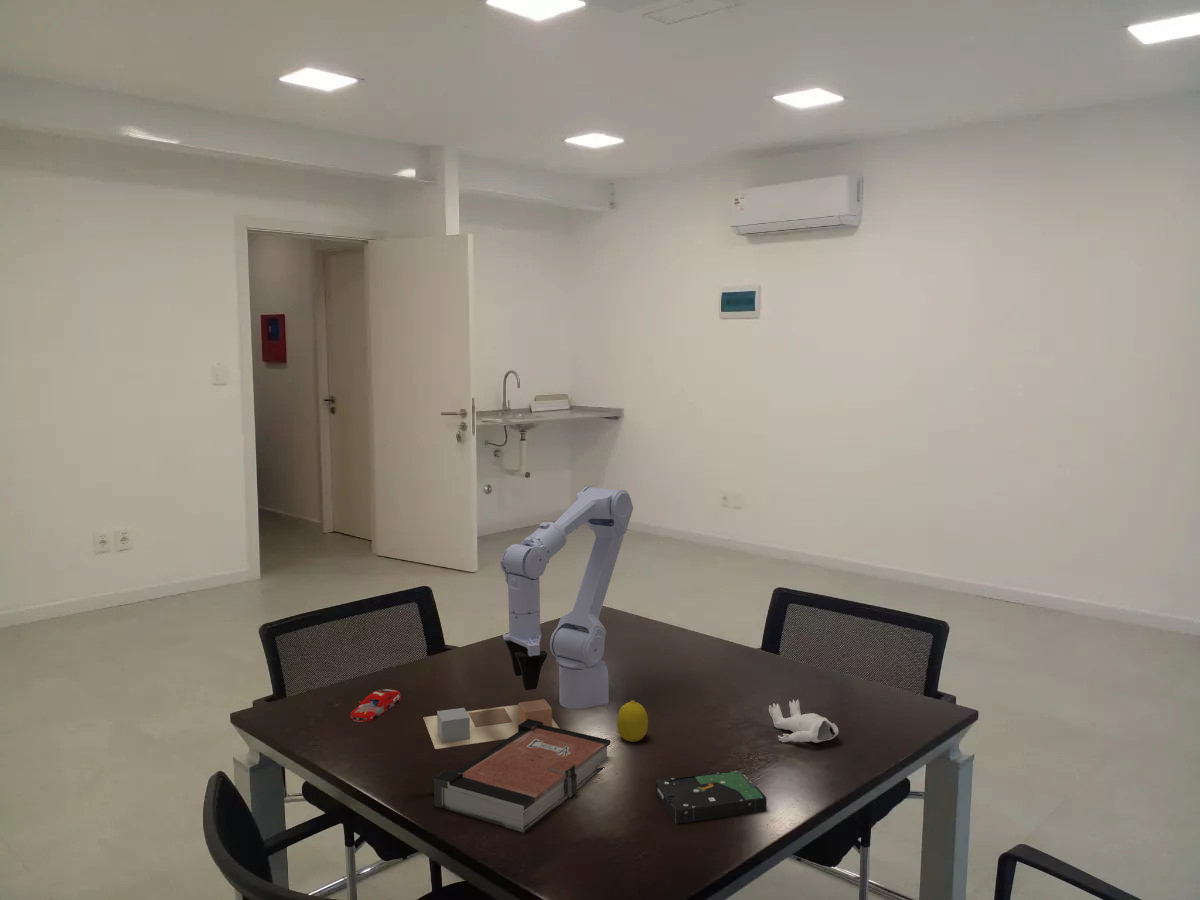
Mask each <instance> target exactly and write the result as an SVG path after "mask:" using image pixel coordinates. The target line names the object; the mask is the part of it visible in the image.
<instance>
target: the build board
mask: <svg viewBox="0 0 1200 900" xmlns="http://www.w3.org/2000/svg"><path fill="white" fill-rule="evenodd" d="M466 712H467V714H468V716H469V718H470V739H468V740H461V741H454V742H447V743H442V742H441V739H440V737H439V735H438V728H437V715H430V716H423V717H422V718H423V721H424V723H425V726H426V729H427V731H428V734H429V736H430V739H431V742H432V744H433V747H434V749H435V750H441V749H445V748H454V747H461V746H467V745H474V744H479V743H481V744H482V743H487V742H488V743H489V742H495V741H501V740H503V741H504V740H506V739H508V738H509V737H511V736H513V735H514V734H516V733H517V732H518V725H519V704H515V705H507V706H498V707H491V708H490V707H489V708H484V709H475V710H466ZM552 727H555V728H559V729H561V728H560V727H559V726H558V724H557V723H556V721H555V720H554V718H552Z"/></svg>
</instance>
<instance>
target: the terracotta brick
mask: <svg viewBox="0 0 1200 900" xmlns="http://www.w3.org/2000/svg"><path fill="white" fill-rule="evenodd" d="M518 705H519V724H521V723H523V722H524V721H526V720H528V719H531V720H535V721H540V722H543V725H546V726H550V727H552V719H553V708H552V707H551V705H550V704H549V703H548V702H547V701H546V699H544V698H543V699H536V700H529V701H522V702H520V701H519V702H518Z"/></svg>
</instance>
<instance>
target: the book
mask: <svg viewBox="0 0 1200 900" xmlns="http://www.w3.org/2000/svg"><path fill="white" fill-rule="evenodd" d="M559 728H560V727H559ZM559 728H555V727H550V726H546V725H543V722H540V721H535V720H531V719H528V720H526V721H524V722H523V723H521V724H519V725H518V732H517V733H516V734H514V735H513V736H511V737H509V738H508V739H504V740H503V741H501V742H500V743H498V744H497V745H495V746H494V747H492V748H490V749H489V750H488V751H485V752H484V753H482V754H481V755H479V756H478V757H476V758H475V759H473V760H471V761H470V762H468V763H466V764H465V765H464V766H461V767H460V768H459V769H457V770H456V771H454V770H451V769H445V770H444V771H442V772H441V773H439V774H437V775H435V776H434V777H433V798H434V800H433V803H434V807H436V808H440V809H444V810H448V811H451V812H454V813H458V814H460V815H463V816H467V817H471V818H473V819H478V820H480V821H484V822H487V823H491V824H493V825H498V826H501V827H503V828H507V829H511V830H514V831H518V832H521V833H524V834H525V833H526V832H527V831H528V830H529V829H531V828H532V827H533V826H534V825H536V824H537V823H538V822H540V821H541V820H542V819H543V818H544V817H545V816H547V815H548V814H550V812H552V811H553V810H554V809H556V807H558V806H559V805H560V804H562V803H563V802H564V801H565V800H567V799H568V798H571V799H572V797H574V796H575V795H576V794H577V793H578V790H579V789H580V788H582V787H583V786H584V785H585V784H586V783H588V782H589V781H590V780H591V779H593V778H594V777H595V776H596V775H598V774H599V773H600V772H601V771H602V770H604V769H605V768H606V766H602V767H598V766H599V765H601V764H602V763H603V762H604V761H605V760H607V758H608V746H610V745H611V739H607V738H603V737H599V736H594V735H590V734H585V733H580V732H577V731H572V730H568V729H562V728H560V729H559ZM597 767H598V768H597ZM603 768H604V769H603ZM597 773H598V774H597ZM593 776H594V777H593ZM592 777H593V778H592ZM588 780H589V781H588ZM587 781H588V782H587ZM585 782H586V783H585ZM584 783H585V784H584ZM583 784H584V785H583ZM582 785H583V786H582ZM578 788H579V789H578ZM577 789H578V790H577Z"/></svg>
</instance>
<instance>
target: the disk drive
mask: <svg viewBox="0 0 1200 900" xmlns="http://www.w3.org/2000/svg"><path fill="white" fill-rule="evenodd" d="M744 773H745V772H744V771H743V770H739V771H738V770H732V771H731V770H725V771H717V772H710V773H701V774H695V775H688V776H687V775H685V776H678V777H671V778H670V777H669V778H662V779H656V780H655V782H654V783H655V787H654V788H655V795H656V796H657V798H658V799H659V800H660V802H661V804H662V806H663V807H664V809H665V810H666V812H667V814H668V815H669V816H670V817H671V819H672V821H673V822H674V823H675V824H676V825H678V824H683V823H684V824H686V823H692V822H699V821H705V820H706V821H707V820H713V819H714V820H715V819H721V818H728V817H733V816H734V817H735V816H743V815H749V814H750V815H751V814H758V813H764V812H767V804H768V803H767V801H768V798H767V796H766V795H765V794H764V793H763V792H762V790H761V789H760V788H759V787H757V785H756V784H755V783H754V782H752V781H751V780H750V778H748V776H747V775H745V774H744Z"/></svg>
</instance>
